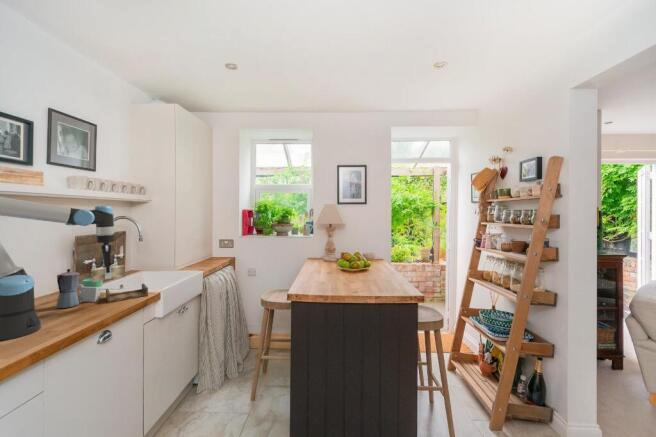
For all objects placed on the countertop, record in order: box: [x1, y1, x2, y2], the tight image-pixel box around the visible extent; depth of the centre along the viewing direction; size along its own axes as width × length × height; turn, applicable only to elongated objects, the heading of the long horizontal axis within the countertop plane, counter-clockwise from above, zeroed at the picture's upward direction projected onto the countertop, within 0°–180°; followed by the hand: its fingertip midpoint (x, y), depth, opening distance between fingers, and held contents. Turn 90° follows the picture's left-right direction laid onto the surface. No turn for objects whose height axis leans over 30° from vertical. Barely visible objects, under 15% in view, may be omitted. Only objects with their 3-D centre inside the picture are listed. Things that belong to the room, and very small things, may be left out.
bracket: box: [77, 283, 102, 304], centre depth 161 cm, size 11×4×10 cm, turn 100°
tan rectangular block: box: [90, 264, 126, 282], centre depth 151 cm, size 14×5×6 cm, turn 130°
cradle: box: [105, 282, 149, 304], centre depth 168 cm, size 19×14×5 cm
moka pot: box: [56, 268, 80, 309], centre depth 152 cm, size 10×15×20 cm, turn 20°
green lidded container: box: [81, 277, 104, 291], centre depth 174 cm, size 15×10×10 cm
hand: (108, 277), depth 151 cm, fingers closed on tan rectangular block, 5 cm apart
